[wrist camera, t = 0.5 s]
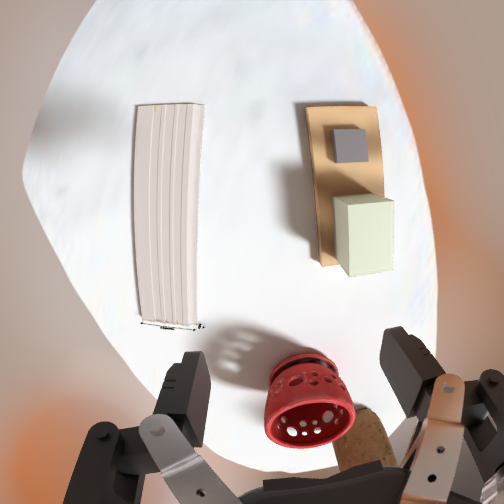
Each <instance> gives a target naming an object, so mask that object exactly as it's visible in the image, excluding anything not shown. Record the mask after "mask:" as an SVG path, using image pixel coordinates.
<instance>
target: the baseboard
mask: <svg viewBox="0 0 504 504" xmlns="http://www.w3.org/2000/svg"><path fill="white" fill-rule="evenodd" d="M204 110H205V105H199V104H169V105H148V106H138V111H137V123H136V137H135V156H134V231H135V251H136V265H137V278H138V288H139V298H140V306H141V314H142V320H143V321H150V322H160V323H165V324H166V323H168V324H173V325H183V326H190V325H197V324H198V317H197V242H198V206H199V183H200V164H201V149H202V135H203V122H204ZM141 324H145V323H143V322H141ZM149 325H152V324H149ZM156 326H159V325H156ZM199 326H200V327H201V324H199ZM200 327H198V328H199V329H200ZM161 328H162V327H161ZM173 328H175V327H171V328H170V329H171V330H174V329H173ZM203 328H205V327H204V326H203ZM162 329H169V328H167V326H164V327H163V328H162ZM180 329H183V328H180ZM188 330H192V329H188ZM193 331H195V329H194V330H193Z"/></svg>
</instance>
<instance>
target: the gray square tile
mask: <svg viewBox="0 0 504 504" xmlns="http://www.w3.org/2000/svg"><path fill="white" fill-rule="evenodd" d="M331 134H332V143H333V152H334V161H335V163H353V162H369V159H368V149H367V139H366V130H365V129H336V130H331Z"/></svg>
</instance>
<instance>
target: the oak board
mask: <svg viewBox="0 0 504 504" xmlns="http://www.w3.org/2000/svg"><path fill="white" fill-rule="evenodd" d="M305 113H306V120H307V128H308V135H309V143H310V152H311V160H312V170H313V179H314V190H315V201H316V213H317V227H318V243H319V261H320V264H321V266H322V267H324V266H332V265H339V263H338V261H337V260H336V259H335V249H334V226H333V209H332V196H339V195H351V194H362V193H374V194H377V195H380V196H382V197H384V177H383V162H382V150H381V139H380V130H379V122H378V115H377V108H376V107H371V106H323V107H307V108H306V109H305ZM336 129H365V130H366V139H367V149H368V159H369V162H353V163H335V161H334V152H333V143H332V134H331V130H336Z"/></svg>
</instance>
